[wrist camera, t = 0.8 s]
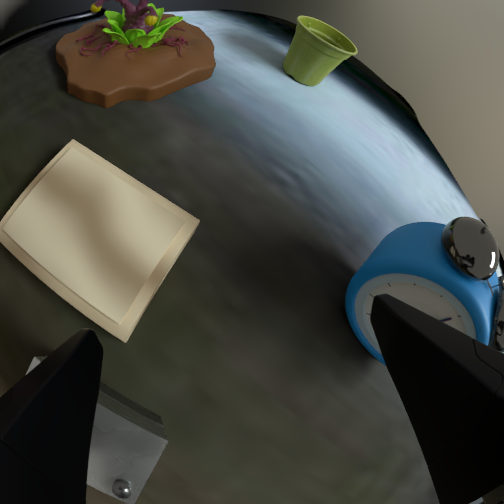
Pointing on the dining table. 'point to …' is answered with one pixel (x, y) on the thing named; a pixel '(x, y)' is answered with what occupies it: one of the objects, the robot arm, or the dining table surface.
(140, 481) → the box
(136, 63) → the plant
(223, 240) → the dining table surface
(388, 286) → the alarm clock
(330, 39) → the plant pot
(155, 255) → the beige tray
